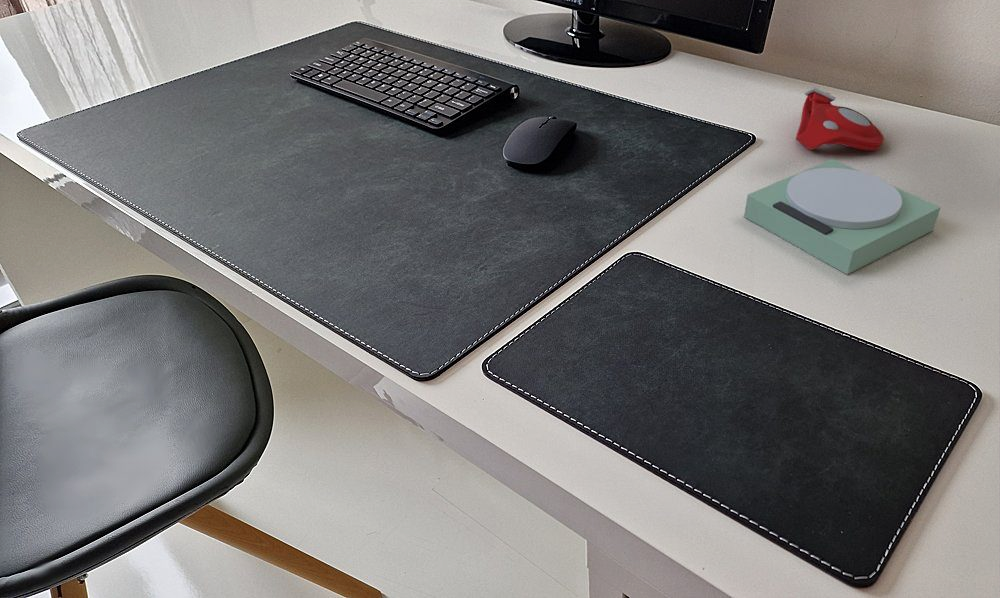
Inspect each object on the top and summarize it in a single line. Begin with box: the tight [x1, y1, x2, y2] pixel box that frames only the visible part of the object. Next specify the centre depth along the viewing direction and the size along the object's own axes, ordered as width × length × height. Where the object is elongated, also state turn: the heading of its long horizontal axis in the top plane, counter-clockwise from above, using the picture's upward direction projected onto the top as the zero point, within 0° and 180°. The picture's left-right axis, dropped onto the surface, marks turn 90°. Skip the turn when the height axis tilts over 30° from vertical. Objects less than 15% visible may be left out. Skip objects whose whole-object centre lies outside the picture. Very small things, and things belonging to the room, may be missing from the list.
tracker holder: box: [795, 86, 884, 152], centre depth 88 cm, size 12×4×10 cm
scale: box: [743, 158, 941, 275], centre depth 74 cm, size 12×12×3 cm
